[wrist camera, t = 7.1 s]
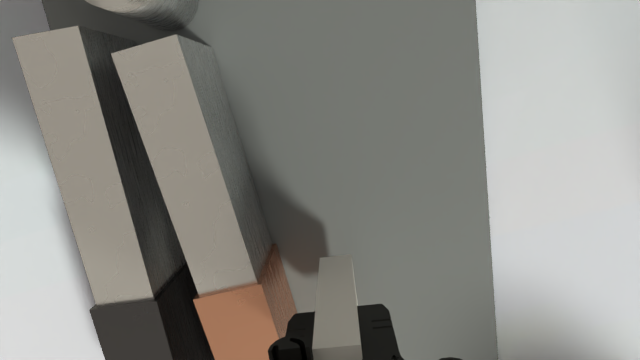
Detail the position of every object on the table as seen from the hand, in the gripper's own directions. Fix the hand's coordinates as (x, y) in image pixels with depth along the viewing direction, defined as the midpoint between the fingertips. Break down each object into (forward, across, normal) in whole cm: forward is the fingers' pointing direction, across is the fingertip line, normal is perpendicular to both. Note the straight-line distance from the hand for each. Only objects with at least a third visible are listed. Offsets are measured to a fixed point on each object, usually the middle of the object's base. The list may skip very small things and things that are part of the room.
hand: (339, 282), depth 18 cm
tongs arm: (+1, -5, +4) cm, 6 cm away
